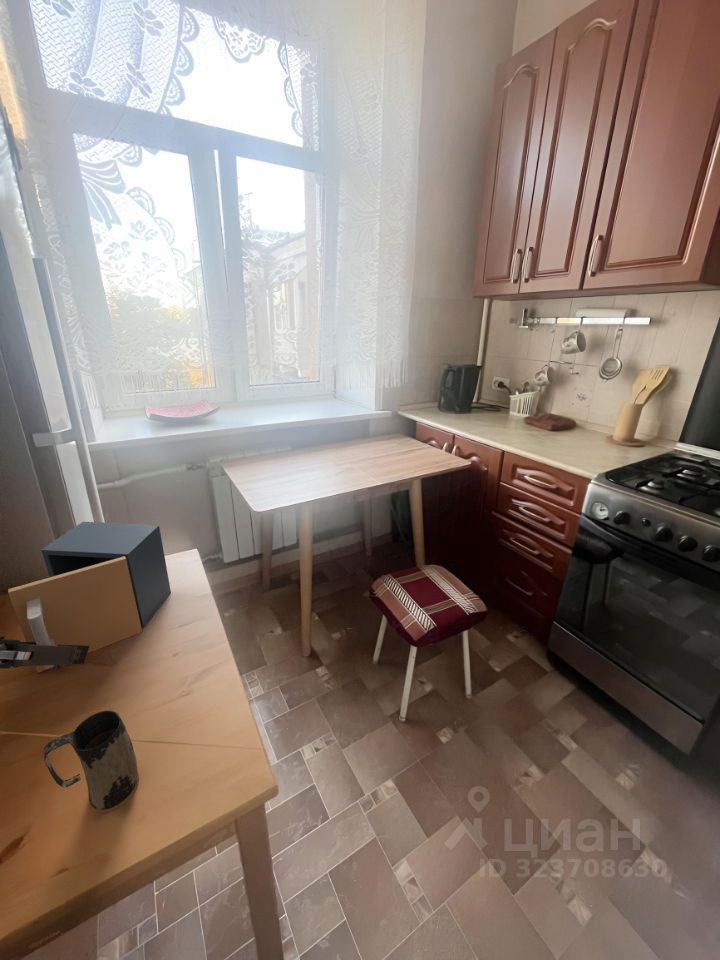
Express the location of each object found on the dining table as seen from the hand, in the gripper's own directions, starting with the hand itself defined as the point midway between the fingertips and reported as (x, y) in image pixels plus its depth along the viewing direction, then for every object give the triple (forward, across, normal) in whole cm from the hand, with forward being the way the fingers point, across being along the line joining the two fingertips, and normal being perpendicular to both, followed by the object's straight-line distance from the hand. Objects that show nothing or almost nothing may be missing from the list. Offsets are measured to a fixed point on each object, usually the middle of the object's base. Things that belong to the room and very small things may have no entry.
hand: (60, 653), depth 64 cm
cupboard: (+16, -1, +9) cm, 18 cm away
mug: (-8, +17, -16) cm, 25 cm away
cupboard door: (+6, +2, -1) cm, 7 cm away
